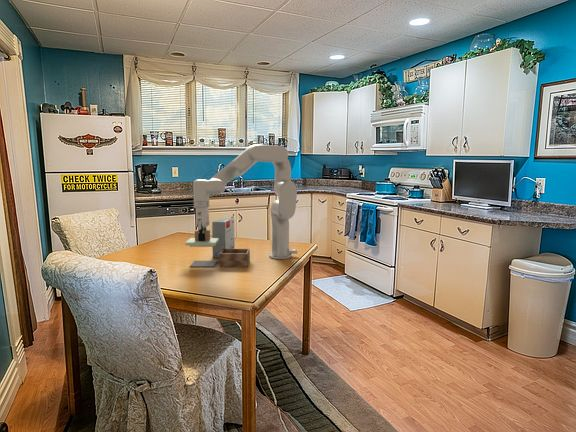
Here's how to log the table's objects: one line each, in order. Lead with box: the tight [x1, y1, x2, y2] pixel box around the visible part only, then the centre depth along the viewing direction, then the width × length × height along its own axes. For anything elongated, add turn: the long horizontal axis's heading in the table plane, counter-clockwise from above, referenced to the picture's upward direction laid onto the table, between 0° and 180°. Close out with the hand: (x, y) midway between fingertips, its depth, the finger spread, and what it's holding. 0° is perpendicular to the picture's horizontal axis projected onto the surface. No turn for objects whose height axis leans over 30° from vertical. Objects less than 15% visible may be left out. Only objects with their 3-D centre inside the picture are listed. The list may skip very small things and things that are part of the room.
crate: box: [219, 248, 251, 268], centre depth 188 cm, size 14×10×7 cm
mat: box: [189, 260, 218, 268], centre depth 188 cm, size 12×10×1 cm
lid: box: [184, 229, 219, 248], centre depth 186 cm, size 15×11×8 cm
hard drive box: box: [211, 217, 236, 258], centre depth 206 cm, size 16×8×20 cm, turn 168°
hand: (202, 239), depth 186 cm, fingers closed on lid, 3 cm apart
